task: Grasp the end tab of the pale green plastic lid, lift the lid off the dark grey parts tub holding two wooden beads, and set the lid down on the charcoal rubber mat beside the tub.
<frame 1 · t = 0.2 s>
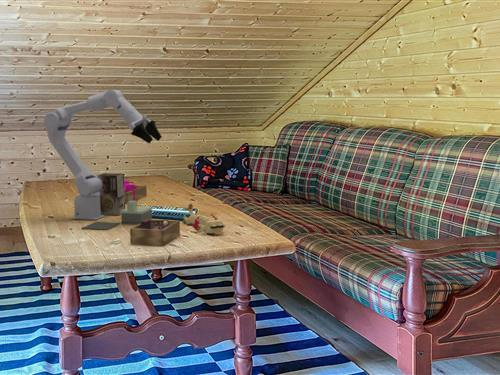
hand: (155, 140, 229), 31 cm above the table, tool tilted 45°, fingers open, 7 cm apart
bead a: (138, 220, 236), resting on tub
tub: (137, 221, 234), on the table
holders: (91, 217, 240), on the table
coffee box: (112, 214, 249), on the table
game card: (154, 240, 205), on the table
cat figure: (203, 230, 220), on the table
bead b: (135, 222, 232), resting on tub
lid: (136, 210, 233), point 4 cm above the table, touching tub
mat: (101, 226, 225), on the table
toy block: (125, 199, 282), touching holders
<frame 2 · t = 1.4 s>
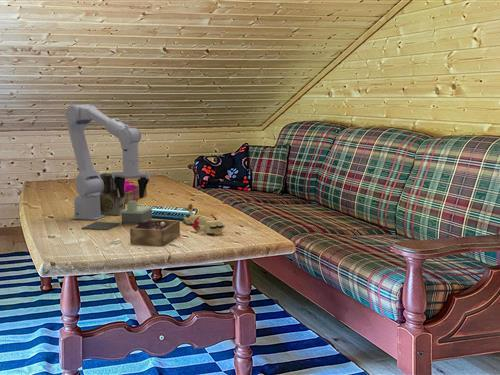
hand: (131, 197, 229), 10 cm above the table, tool pointing down, fingers open, 7 cm apart
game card: (152, 241, 204), on the table
everything else where it was.
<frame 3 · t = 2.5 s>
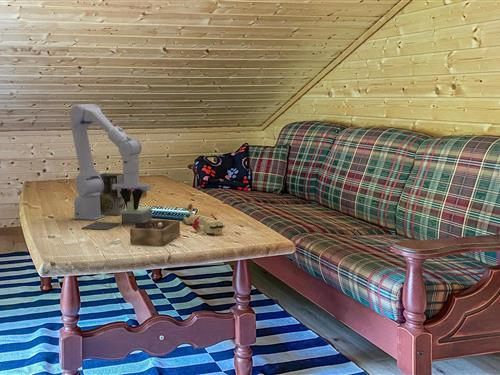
hand: (132, 209, 229), 5 cm above the table, tool pointing down, fingers closed on lid, 2 cm apart
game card: (149, 241, 203), on the table
lid: (136, 210, 233), point 4 cm above the table, touching gripper, tub
everything else where it was.
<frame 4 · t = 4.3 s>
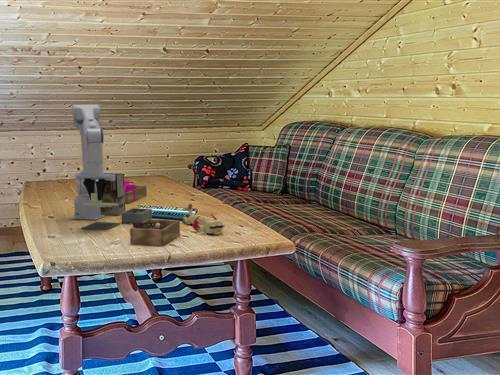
hand: (96, 200, 220), 10 cm above the table, tool pointing down, fingers closed on lid, 2 cm apart
lid: (101, 205, 224), point 8 cm above the table, tilted 10°, touching gripper
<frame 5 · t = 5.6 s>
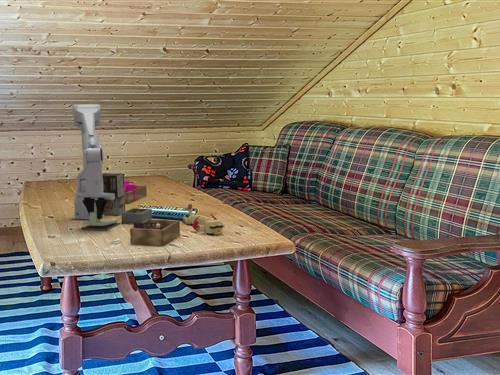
hand: (95, 218, 220), 4 cm above the table, tool pointing down, fingers closed on lid, 2 cm apart
lid: (100, 223, 224), point 1 cm above the table, tilted 6°, touching gripper, mat
when the fingers open (3 cm above the table, at t = 6.0 s): lid stays where it is, resting on mat.
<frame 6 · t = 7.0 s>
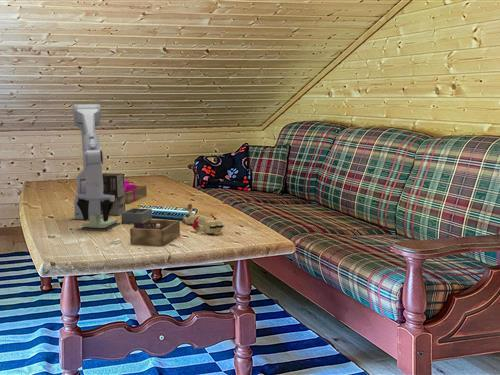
hand: (95, 220, 221), 3 cm above the table, tool pointing down, fingers open, 7 cm apart
lid: (100, 224, 224), point 1 cm above the table, touching mat
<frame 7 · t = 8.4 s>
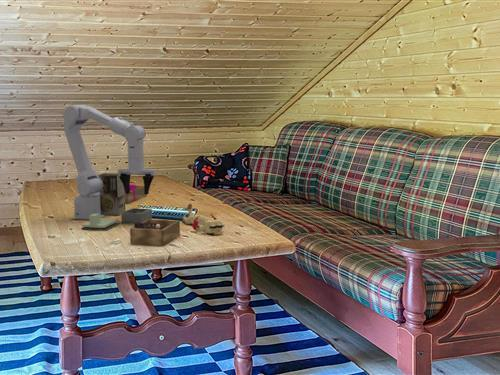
hand: (137, 193, 233), 10 cm above the table, tool pointing down, fingers open, 7 cm apart
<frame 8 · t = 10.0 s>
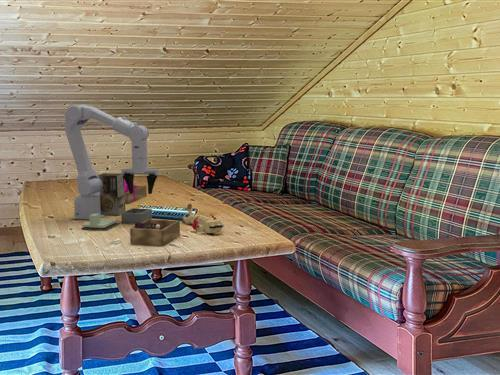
hand: (140, 193, 234), 10 cm above the table, tool pointing down, fingers open, 7 cm apart
at the end: lid inside the target area on the mat (0.7 cm from its centre), point 1.0 cm above the mat's base; lid touching mat; the gripper is holding nothing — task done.
